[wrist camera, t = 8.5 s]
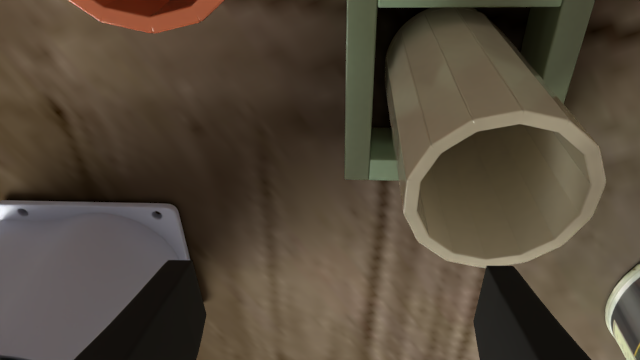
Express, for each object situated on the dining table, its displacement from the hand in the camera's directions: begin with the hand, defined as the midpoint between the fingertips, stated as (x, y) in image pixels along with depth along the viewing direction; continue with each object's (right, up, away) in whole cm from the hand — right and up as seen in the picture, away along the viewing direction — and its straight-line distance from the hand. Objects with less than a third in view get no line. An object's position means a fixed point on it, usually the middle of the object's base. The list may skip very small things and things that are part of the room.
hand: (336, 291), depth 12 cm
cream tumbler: (+5, +7, +7) cm, 11 cm away
